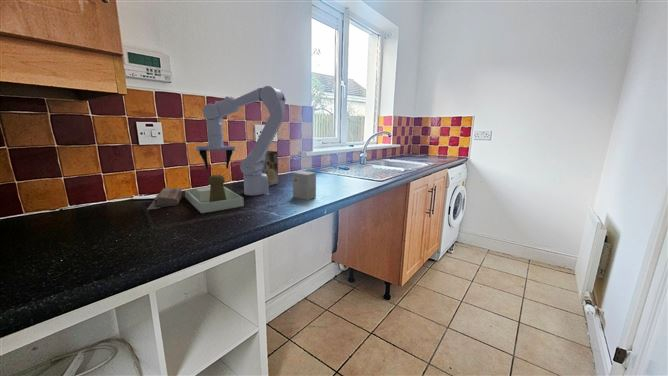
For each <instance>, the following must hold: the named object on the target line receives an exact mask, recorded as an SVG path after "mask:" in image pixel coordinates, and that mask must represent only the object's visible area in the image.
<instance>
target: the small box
mask: <svg viewBox="0 0 668 376" xmlns="http://www.w3.org/2000/svg"><path fill="white" fill-rule="evenodd" d="M292 197H293V198H295V199H301V200H303V201H304V200H305V201H309V200H310V201H311V200H313V199H315V198H316V197H317V172H314V171H313V172H312V171H305V170H298V171H293V172H292Z"/></svg>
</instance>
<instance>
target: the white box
mask: <svg viewBox="0 0 668 376" xmlns="http://www.w3.org/2000/svg"><path fill="white" fill-rule="evenodd" d="M194 189H195V191H196V199H198V200H199V201H200V202H205V201H209V200H210V185H209V186H201V187H195V188H194Z"/></svg>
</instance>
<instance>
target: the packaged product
mask: <svg viewBox="0 0 668 376" xmlns="http://www.w3.org/2000/svg"><path fill="white" fill-rule="evenodd" d="M181 199H182V188H180V187H176V186H175V187H163V188H162V189H160V191H159V193H158V194H157V195H156V197H155V198H154V199H153V201H152V202H151V204H149V206H148V207H147V208H146V209H147V212H148V213H149V212H150V211H149V210H156V209H157V210H158V209H161V208H166V207H172V206H173V207H174V206H175V207H176V206H178V205H179V203H180V201H181Z"/></svg>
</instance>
